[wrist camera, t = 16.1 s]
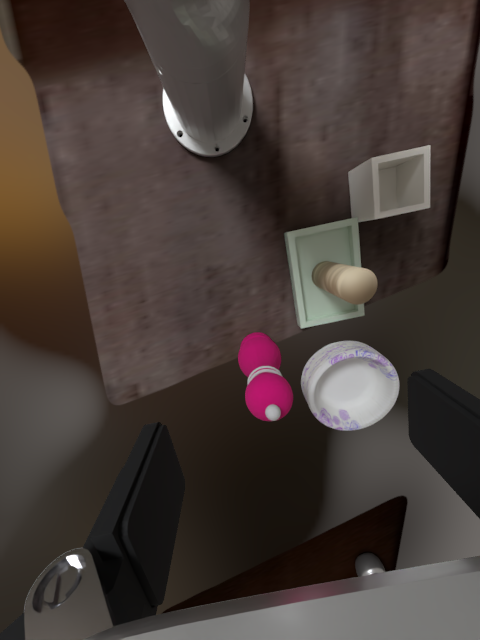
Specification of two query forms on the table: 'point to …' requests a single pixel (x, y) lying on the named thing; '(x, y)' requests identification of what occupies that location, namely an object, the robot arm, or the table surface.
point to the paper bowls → (349, 385)
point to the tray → (310, 250)
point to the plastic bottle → (368, 565)
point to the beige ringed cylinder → (345, 281)
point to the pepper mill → (264, 378)
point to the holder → (391, 184)
